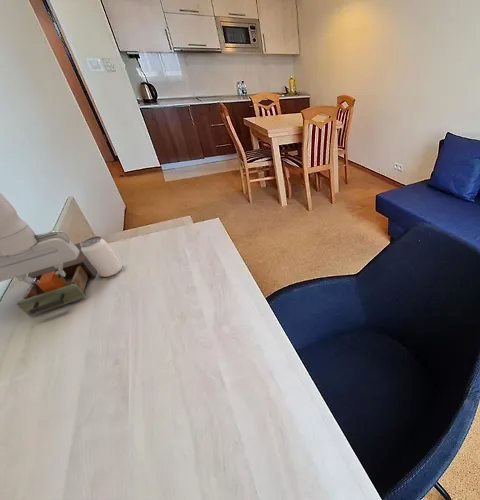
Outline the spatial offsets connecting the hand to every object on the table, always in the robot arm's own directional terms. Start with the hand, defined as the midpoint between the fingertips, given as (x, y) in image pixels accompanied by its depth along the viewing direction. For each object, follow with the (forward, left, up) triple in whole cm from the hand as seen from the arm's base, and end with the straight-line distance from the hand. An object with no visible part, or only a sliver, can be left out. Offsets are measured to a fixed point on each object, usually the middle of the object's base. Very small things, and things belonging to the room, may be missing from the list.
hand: (49, 280), depth 87 cm
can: (+12, +6, -7) cm, 15 cm away
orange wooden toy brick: (0, 0, -4) cm, 5 cm away
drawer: (0, -1, -6) cm, 6 cm away
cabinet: (0, +13, -6) cm, 15 cm away
